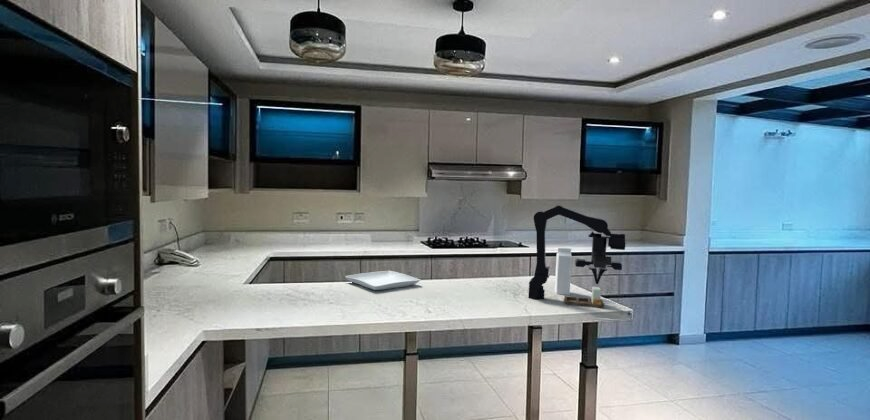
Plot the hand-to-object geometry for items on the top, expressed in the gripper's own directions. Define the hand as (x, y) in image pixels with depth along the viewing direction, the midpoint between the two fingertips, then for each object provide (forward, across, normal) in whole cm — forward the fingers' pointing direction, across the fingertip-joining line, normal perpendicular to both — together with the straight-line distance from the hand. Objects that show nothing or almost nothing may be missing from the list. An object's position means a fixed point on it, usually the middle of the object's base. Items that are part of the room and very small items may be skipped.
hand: (596, 284), depth 206 cm
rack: (+10, -5, 0) cm, 11 cm away
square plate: (+10, -99, +6) cm, 100 cm away
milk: (+10, -13, +17) cm, 24 cm away
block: (+9, 0, 0) cm, 9 cm away
